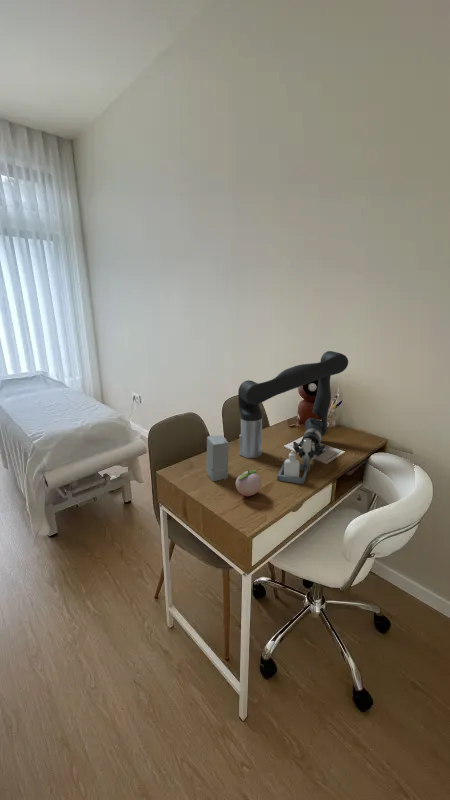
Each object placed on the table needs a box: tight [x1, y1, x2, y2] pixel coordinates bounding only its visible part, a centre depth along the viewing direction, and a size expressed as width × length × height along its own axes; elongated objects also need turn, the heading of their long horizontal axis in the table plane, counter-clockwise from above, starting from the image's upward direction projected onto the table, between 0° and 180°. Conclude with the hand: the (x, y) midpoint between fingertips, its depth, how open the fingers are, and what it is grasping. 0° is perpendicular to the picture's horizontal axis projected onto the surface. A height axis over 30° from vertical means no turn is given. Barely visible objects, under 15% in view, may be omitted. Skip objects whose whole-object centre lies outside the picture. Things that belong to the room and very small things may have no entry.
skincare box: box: [206, 434, 230, 482], centre depth 134 cm, size 8×7×16 cm
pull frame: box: [276, 438, 311, 485], centre depth 133 cm, size 11×14×13 cm
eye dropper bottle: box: [283, 450, 301, 478], centre depth 130 cm, size 4×6×12 cm
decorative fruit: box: [235, 469, 262, 497], centre depth 120 cm, size 9×8×10 cm
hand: (305, 456), depth 134 cm, fingers closed on pull frame, 3 cm apart
